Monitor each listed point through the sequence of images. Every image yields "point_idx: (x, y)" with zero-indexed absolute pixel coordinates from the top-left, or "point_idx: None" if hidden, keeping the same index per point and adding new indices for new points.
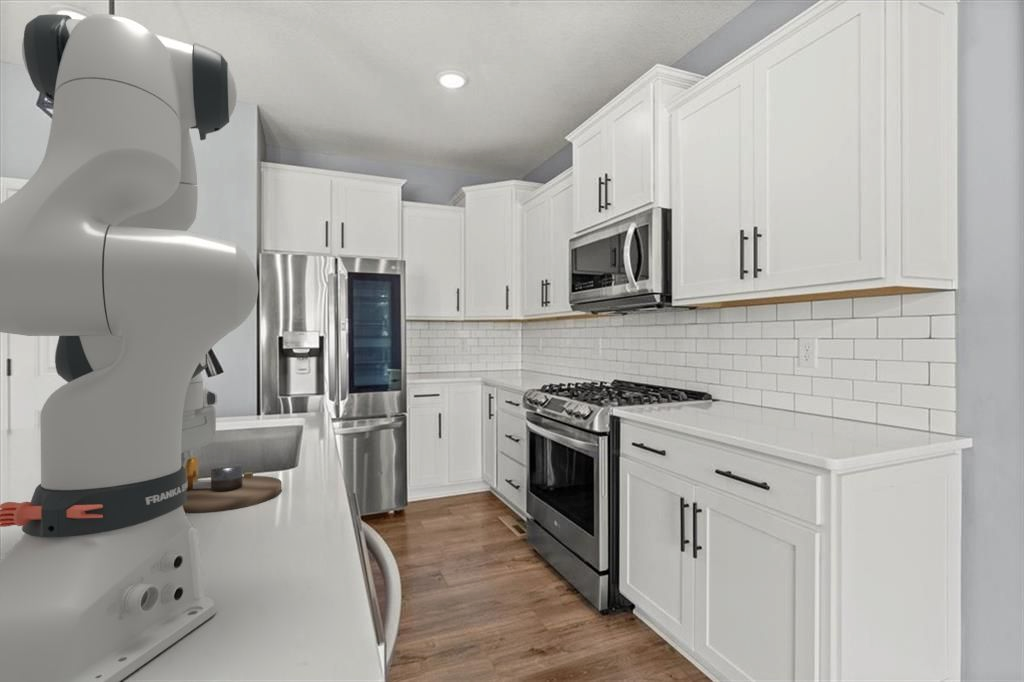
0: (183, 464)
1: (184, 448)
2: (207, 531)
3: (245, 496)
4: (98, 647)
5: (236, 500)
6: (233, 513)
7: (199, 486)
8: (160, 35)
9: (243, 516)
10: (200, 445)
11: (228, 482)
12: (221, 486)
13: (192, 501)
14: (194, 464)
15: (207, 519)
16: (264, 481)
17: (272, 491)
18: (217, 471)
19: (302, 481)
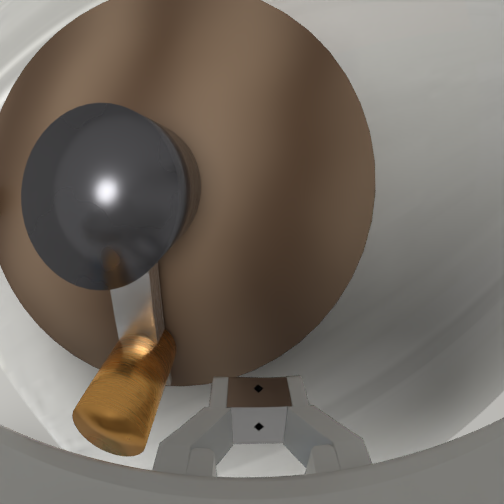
0: (217, 421)
1: (268, 499)
2: (496, 97)
3: (288, 38)
4: None
5: (333, 58)
6: (375, 63)
7: (160, 306)
8: None
9: (401, 30)
10: (42, 446)
11: (183, 146)
12: (197, 178)
13: (344, 233)
14: (124, 390)
15: (427, 127)
16: (50, 88)
17: None
18: (181, 208)
19: (9, 39)
